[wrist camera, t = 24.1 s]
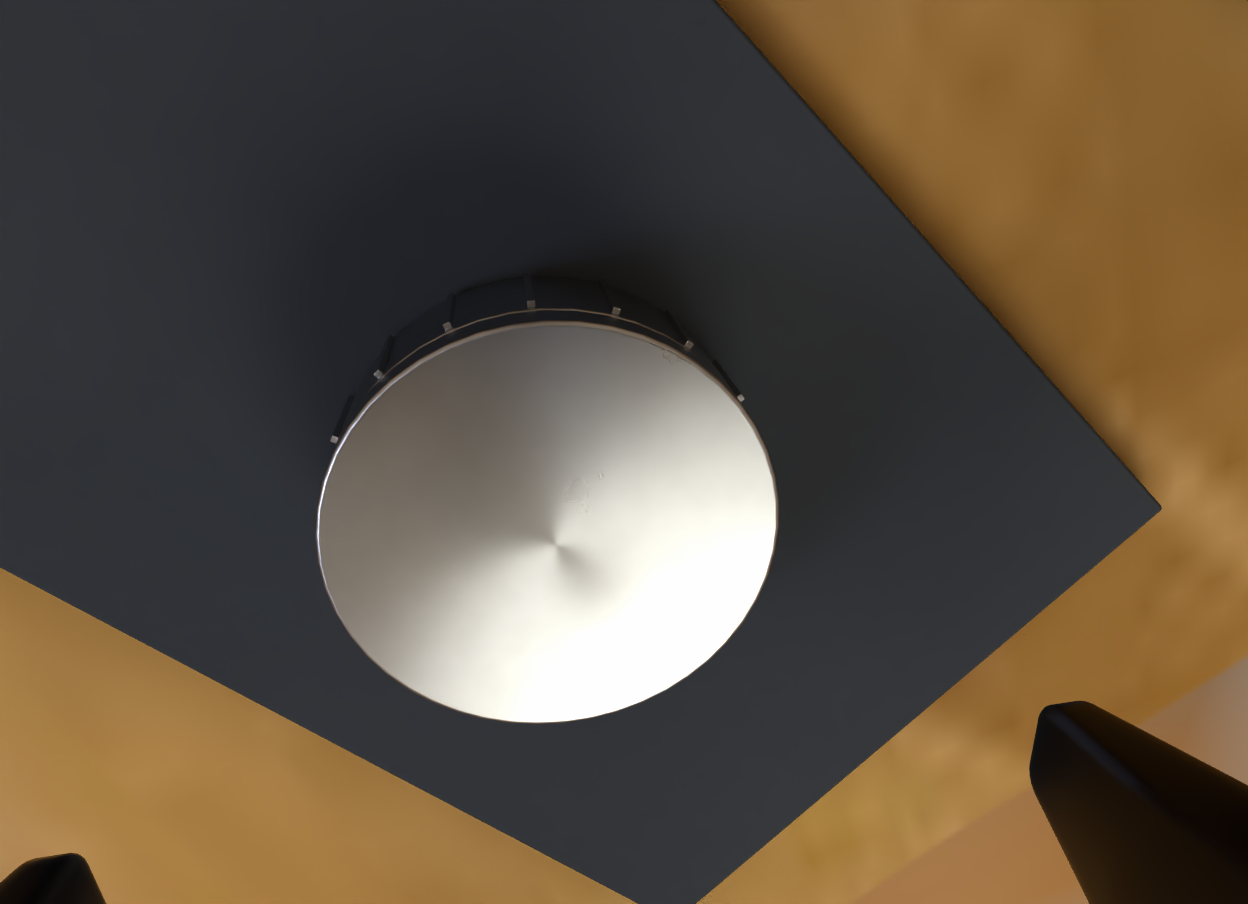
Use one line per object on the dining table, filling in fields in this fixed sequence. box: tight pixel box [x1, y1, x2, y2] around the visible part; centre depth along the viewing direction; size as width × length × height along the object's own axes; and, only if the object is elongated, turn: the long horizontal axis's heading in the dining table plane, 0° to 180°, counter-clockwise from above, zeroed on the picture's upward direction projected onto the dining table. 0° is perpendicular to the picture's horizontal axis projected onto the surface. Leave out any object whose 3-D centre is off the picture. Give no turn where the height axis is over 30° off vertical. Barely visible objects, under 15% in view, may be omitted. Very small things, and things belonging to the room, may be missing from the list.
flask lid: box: [315, 273, 779, 724], centre depth 14 cm, size 7×7×2 cm
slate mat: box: [0, 0, 1162, 904], centre depth 15 cm, size 20×14×1 cm
